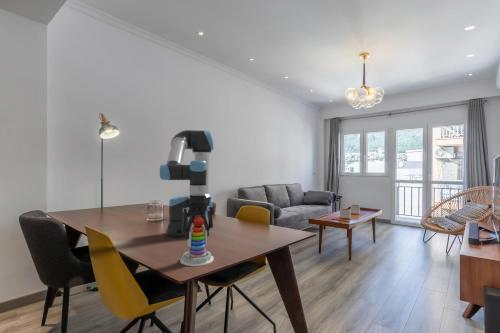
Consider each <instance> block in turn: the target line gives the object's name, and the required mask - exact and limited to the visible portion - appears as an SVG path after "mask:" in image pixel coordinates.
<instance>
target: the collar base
mask: <svg viewBox="0 0 500 333" xmlns="http://www.w3.org/2000/svg"><path fill="white" fill-rule="evenodd" d="M189 253H190V252H189V251H185V252H184V253H183V255H182V256H181V257H180V259H179V260H180V261H179V262H180V263H181V265H184V266H187V267H202V266H205V265H209V264H211V263H213V262H214V259H215V258H214V256H213V255H212V253H211V252H210V251H209V250H206V256H205V257H202V258H190V257H189Z"/></svg>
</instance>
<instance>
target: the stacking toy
mask: <svg viewBox="0 0 500 333" xmlns="http://www.w3.org/2000/svg"><path fill="white" fill-rule="evenodd" d="M192 225H193V227H191V228H192V230H191V247H189V249H188V250H189V252H190V253H189V257H190V258H202V257H205V256H206V251H207V249H206V245H205V244H204V243H205V240H204V238H205V236H204V229H205V227H204V219H203V218H202V217H201V216H196V217H195V218H194V220H193V223H192Z"/></svg>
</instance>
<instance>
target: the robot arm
mask: <svg viewBox="0 0 500 333" xmlns="http://www.w3.org/2000/svg"><path fill="white" fill-rule="evenodd" d="M172 137H173V138H171V142H170V150H169V154H168V157H167V161H166V163H165V164H161V165H160V167H159V177H160V180H162V181H163V180H164V181H189V194H190V195H182V196H176V197H172V198H170V199H169V201H168V224H167V228H166V230H165V236H166V237H171V238H182V237H185V239H186V240H187V246H188V247H189V248H190V247H191V240H192V239H191V236H192V230H191V228H192V225H193V220H194V218H195V217H196V216H201V217H202V218H203V219H204V223H203V227H204V229H203V231H204V236H205V238H204V240H205V243H204V244H205V246H206V245H208V238H209V236H210V230H211V229H213V228H214V224H213V223H214V222H213V203H214V202H213V201H214V199H213V198H212V197H211V196H212V195H211V194H210V193H209V176H210V174H209V168H210V164H209V163H210V159H209V158H210V155H211V153H212V151H213V150H214V147H215V146H214V139H213V138H214V137H213V133H212V131H210V130H191V129H190V130H189V129H186V130H182V131H180V132H178V133H177V134H175V135H174V136H172ZM186 150H192V153H193V155H194V160H191V161H190V162H189V164H183V162H184V156H185V151H186Z"/></svg>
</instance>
